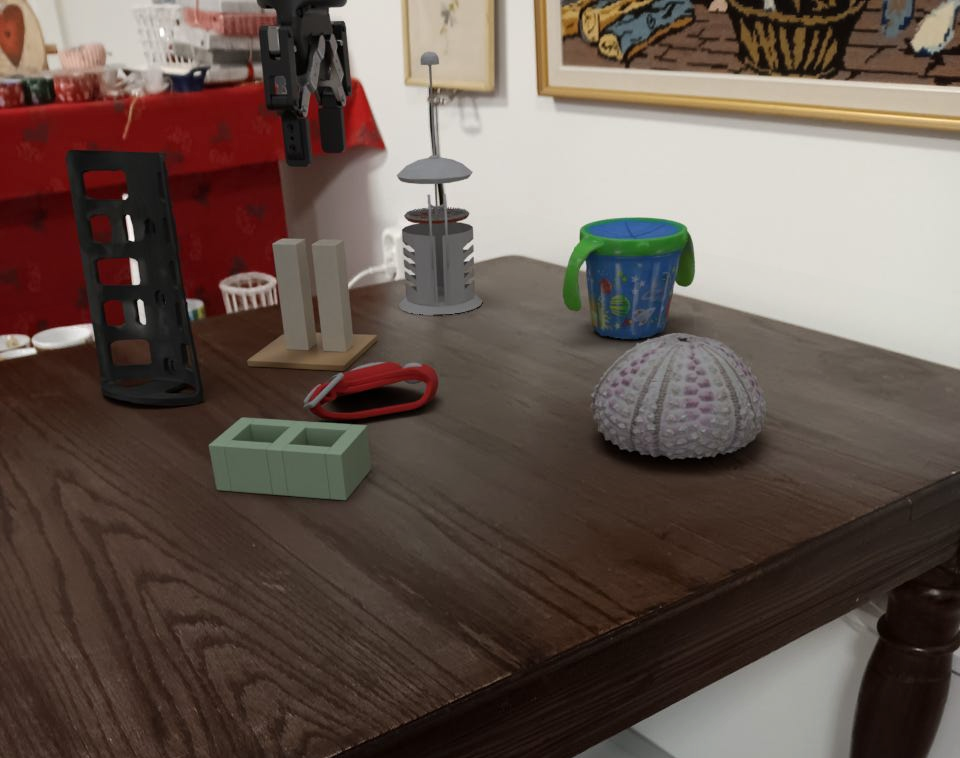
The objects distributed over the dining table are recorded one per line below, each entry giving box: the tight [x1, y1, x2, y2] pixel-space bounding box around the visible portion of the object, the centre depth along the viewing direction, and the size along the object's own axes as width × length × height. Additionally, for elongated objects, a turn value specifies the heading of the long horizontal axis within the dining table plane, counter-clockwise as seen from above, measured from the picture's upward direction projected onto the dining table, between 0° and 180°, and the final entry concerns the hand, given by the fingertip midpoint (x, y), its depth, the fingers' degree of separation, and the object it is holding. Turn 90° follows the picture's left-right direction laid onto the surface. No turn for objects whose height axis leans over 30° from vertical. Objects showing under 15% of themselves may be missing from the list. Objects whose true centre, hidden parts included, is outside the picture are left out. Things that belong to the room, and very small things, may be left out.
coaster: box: [246, 332, 378, 372], centre depth 99 cm, size 10×10×1 cm
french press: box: [396, 51, 483, 316], centre depth 106 cm, size 10×12×25 cm
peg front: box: [311, 238, 354, 352], centre depth 96 cm, size 2×2×10 cm
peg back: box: [271, 238, 317, 350], centre depth 97 cm, size 2×2×10 cm
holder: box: [65, 149, 205, 407], centre depth 86 cm, size 11×8×20 cm
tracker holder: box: [303, 361, 439, 421], centre depth 84 cm, size 12×4×10 cm
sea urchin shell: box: [589, 332, 768, 461], centre depth 76 cm, size 13×14×8 cm
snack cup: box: [562, 216, 696, 340], centre depth 100 cm, size 16×10×10 cm
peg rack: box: [208, 416, 372, 501], centre depth 72 cm, size 10×6×4 cm, turn 77°
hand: (317, 159), depth 89 cm, fingers open, 8 cm apart
